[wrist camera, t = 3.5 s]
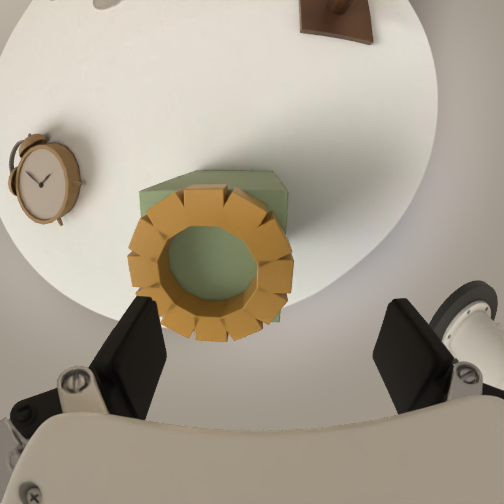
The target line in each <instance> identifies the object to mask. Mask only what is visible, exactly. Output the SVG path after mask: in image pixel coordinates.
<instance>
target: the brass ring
mask: <svg viewBox="0 0 504 504" xmlns="http://www.w3.org/2000/svg"><path fill="white" fill-rule="evenodd" d="M190 226H217V227H220V228H222V229H224V230H226V231H227V232H229V233H231V234H233V235H234V236H236V237H238V238H240V239H241V240H243V241H244V243H245V244H246V246H247V248H248V250H249V251H250V253H251V255H252V256H253V258H254V260H255V261H256V263H257V272H256V276H255V277H254V278H253V280H252V281H251V283H250V284H249V286H248V287H247V289H246V290H245V292H243V293H241V294H239V295H237V296H234V297H232V298H230V299H228V300H226V301H212V300H202V299H200V298H198V297H196V296H195V295H193V294H191V293H189V292H187V291H185V290H184V289H182V287H181V286H180V284H179V283H178V282H177V280H176V279H175V277H174V276H173V274H172V273H171V272H170V267H169V257H168V248H169V246H170V244H171V242H172V240H173V238H174V236H175V235H177V234H178V233H180V232H182V231H183V230H185V229H187V228H188V227H190ZM128 248H129V249H130V250H132V252H131V253H130V254H129V255H128V256H127V257H128V264H129V270H130V276H131V281H132V286H133V287H140V288H139V289H138V291H137V292H136V295H137V296H148V297H151V298H152V300H153V301H156V303H157V307H158V313H159V317H160V316H162V315H164V314H165V315H164V317H163V319H162V321H161V323H160V324H162V325H164V326H166V327H167V328H169V329H171V330H173V331H175V332H177V333H179V334H181V335H183V336H185V337H187V338H189V337H190V335H191V334H192V332H193V331H195V339H196V340H199V341H215V342H227V340H228V334H229V335H230V336H231V337H232V339H233V340H234V341H235V340H238V339H241V338H243V337H246V336H248V335H250V334H253V333H255V332H257V331H260V330H262V329H263V322H264V323H266V324H270V323H271V321H272V320H273V319H274V318H275V316H276V315H277V314H278V313H279V311H280V310H281V309H282V307H283V306H284V305H285V304H286V302H287V301H288V298H287V293H291V288H292V277H293V266H294V260H293V256H292V253H291V252H292V249H291V246H290V243H289V240H288V238H287V236H286V235H285V233H284V231H283V229H282V227H281V225H280V223H279V221H278V220H277V218H276V216H275V214H274V212H273V211H271V212H269V213H268V211H267V205H266V204H265V203H263V202H261V201H260V200H258V199H256V198H255V197H253V196H251V195H250V194H248V193H246V192H245V191H243V190H241V189H239V188H238V187H235V188H234V190H233V191H232V193H231V195H230V196H229V198H228V185H227V184H193V185H191V186H189V187H187V188H185V187H183V188H181V189H179V190H177V191H175V192H174V193H172V194H171V195H169V196H168V197H166V198H164V199H163V200H161V201H160V202H158V203H157V204H155V205H154V206H152V207H151V208H150V209H148V210H147V211H146V215H145V216H143V217H141V218H140V220H139V222H138V225H137V227H136V229H135V232H134V234H133V237H132V239H131V242H130V244H129V247H128Z"/></svg>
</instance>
